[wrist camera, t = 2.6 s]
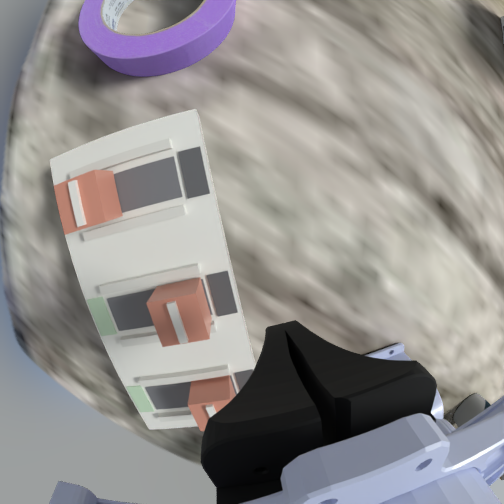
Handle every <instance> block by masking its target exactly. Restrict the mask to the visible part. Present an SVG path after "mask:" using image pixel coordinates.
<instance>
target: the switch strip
mask: <svg viewBox="0 0 504 504" xmlns="http://www.w3.org/2000/svg"><path fill="white" fill-rule="evenodd" d="M50 165H51V171H52V178H53V183H54V185H57V184H59V183H62V182H64V181H66V180H69V179H71V178H74V177H76V176H79V175H82V174H84V173H87V172H89V171H92V170H107V171H113V174H114V179H115V184H116V189H117V193H118V198H119V202H120V206H121V211H122V215H123V216H121V217H119V218H116V219H113V220H110V221H107V222H104V223H101V224H98V225H94V226H91V227H88V228H85V229H81V230H78V231H75V232H72V233H69V234H66V235H65V237H66V241H67V245H68V248H69V252H70V255H71V259H72V262H73V265H74V268H75V271H76V274H77V277H78V280H79V283H80V286H81V289H82V292H83V295H84V297H85V300H86V303H87V306H88V308H89V311H90V313H91V316H92V318H93V321H94V323H95V326H96V328H97V330H98V333H99V335H100V337H101V340H102V342H103V344H104V346H105V348H106V351H107V353H108V355H109V357H110V359H111V361H112V363H113V365H114V367H115V369H116V371H117V373H118V375H119V377H120V379H121V381H122V383H123V385H124V387H125V389H126V390H127V392H128V394H129V396H130V398H131V399H132V401H133V403H134V405H135V406H136V408H137V410H138V412H139V413H140V415H141V417H142V418H143V420H144V422H145V423H146V425H147V426H148V428H149V430H151V429H170V428H184V427H195V426H198V425H197V423H196V421H195V419H194V417H193V415H192V413H191V411H190V409H189V407H188V400H189V393H190V386H191V381H196V380H202V379H209V378H215V377H221V376H227V375H229V376H230V379H231V382H232V385H233V388H234V391H235V394H236V395H237V394H238V393H239V391H240V390H241V389H242V387H243V386H244V385H245V383H246V382H247V380H248V379H249V377H250V376H251V374H252V372H253V370H254V368H255V366H256V363H255V359H254V355H253V351H252V347H251V343H250V339H249V335H248V331H247V327H246V323H245V319H244V315H243V311H242V306H241V302H240V298H239V294H238V290H237V286H236V281H235V277H234V273H233V269H232V264H231V260H230V256H229V251H228V247H227V243H226V238H225V234H224V229H223V225H222V220H221V216H220V211H219V207H218V202H217V198H216V193H215V189H214V184H213V179H212V175H211V170H210V165H209V160H208V156H207V151H206V146H205V141H204V136H203V131H202V126H201V121H200V117H199V115H198V112H197V110H196V109H193V110H189V111H185V112H181V113H177V114H173V115H169V116H166V117H162V118H159V119H155V120H152V121H149V122H145V123H142V124H139V125H136V126H133V127H130V128H127V129H124V130H121V131H118V132H115V133H113V134H110V135H107V136H104V137H102V138H99V139H97V140H94V141H91V142H89V143H86V144H84V145H82V146H79V147H77V148H74V149H72V150H70V151H67V152H65V153H63V154H61V155H59V156H56V157H54V158H52V159H50ZM199 277H200V278H201V282H202V285H203V289H204V293H205V296H206V300H207V303H208V307H209V310H210V314H211V317H212V322H211V331H210V339H208V340H203V341H197V342H191V343H185V344H179V345H173V346H166V347H162V344H161V342H160V339H159V337H158V334H157V331H156V329H155V326H154V323H153V321H152V318H151V315H150V312H149V309H148V307H147V304H146V303H147V301H148V300H149V298H150V296H151V295H152V293H153V292H154V290H155V289H156V287H157V286H161V285H166V284H171V283H175V282H180V281H185V280H190V279H194V278H199Z"/></svg>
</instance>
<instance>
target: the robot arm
mask: <svg viewBox="0 0 504 504" xmlns="http://www.w3.org/2000/svg"><path fill="white" fill-rule="evenodd" d="M391 350H392V351H391ZM390 351H391V352H390ZM389 352H390V353H389ZM443 412H444V411H443V403H442V400H441V397H440V394H439V392H438V390H437V384H436V381H435V379H434V377H433V376H432V375H431V374H430V373H429V372H428V371H427V370H426V369H425V368H424V367H423V366H422V365H421V364H420V363H418V362H417V361H412V360H411V359H410V358H409V357H408V356H407V355H406V354H405V353H404V345H403V344H402V343H398V344H395V345H393V346H390V347H387V348H385V349H382V350H379V351H376V352H373V353H370V354H368V355H365V356H364V355H360V354H357V353H353V352H350V351H348V350H345V349H342V348H340V347H338V346H335V345H333V344H331V343H329V342H327V341H325V340H324V339H322V338H320V337H319V336H317V335H316V334H314V333H313V332H311V331H310V330H308V329H307V328H306V327H304V326H303V325H302V324H300V323H299V322H297V321H296V320H295V321H291V322H287V323H282V324H278V325H274V326H270V327H267V328H266V335H265V341H264V345H263V348H262V352H261V355H260V357H259V359H258V362H257V364H256V366H255V368H254V370H253V372H252V374H251V376H250V377H249V379H248V380H247V382H246V383H245V385H244V386H243V387H242V389H241V390H240V391H239V393H238V394H237V395H236V396H235V397H234V398H233V399H232V400H231V401H230V402H229V403H228V404H227V405H226V406H225V407H223V408H222V409H221V410H220V411H218V412H217V413H216V414H214V415H213V416H212V417H210V418H209V419H208V421H207V424H206V428H205V431H204V435H203V440H202V447H201V464H202V466H203V469H204V470H205V472H206V473H207V475H208V476H209V478H210V479H211V481H212V482H213V483H214V485H215V486H216V487H217V504H501V502H500V501H499V499H498V498H497V497H496V495H495V494H494V492H493V491H492V490H491V488H490V487H489V486H490V485H491V484H492V483H494V482H495V481H496V480H497V479H498V478H499V477H501V476H502V475H503V474H504V396H502V397H501V398H500V399H499V400H497V401H496V402H495V403H493V404H492V405H491V406H489V407H488V408H487V409H485V410H484V411H482V412H481V413H480V414H478V415H477V416H475V417H474V418H472V419H471V420H469V421H468V422H466V423H465V424H463V425H462V426H460V427H458V428H457V429H455V428H454V427H453V426H452V425H451V424H450V423H449V422H448V421H447V420H445V419H443ZM49 504H135V503H127V502H118V501H112V500H106V499H100V498H97V497H96V496H95V495H94V494H93V493H92V492H91V491H90V490H88V489H87V488H85V487H83V486H80V485H76V484H71V483H67V482H63V481H58V483H57V485H56V488H55V490H54V493H53V495H52V498H51V500H50V503H49Z"/></svg>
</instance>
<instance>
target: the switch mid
mask: <svg viewBox="0 0 504 504" xmlns="http://www.w3.org/2000/svg"><path fill="white" fill-rule="evenodd" d="M146 304H147V307H148V309H149V312H150V315H151V318H152V321H153V323H154V326H155V329H156V331H157V334H158V337H159V339H160V342H161V344H162V347H166V346H173V345H179V344H185V343H191V342H197V341H203V340H208V339H210V331H211V322H212V317H211V314H210V310H209V307H208V303H207V300H206V296H205V293H204V289H203V285H202V282H201V278H200V277H199V278H194V279H190V280H185V281H180V282H175V283H171V284H166V285H161V286H157V287H156V289H155V290H154V292H153V293H152V295H151V296H150V298H149V300H148V301H147V303H146Z"/></svg>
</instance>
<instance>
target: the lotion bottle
mask: <svg viewBox="0 0 504 504" xmlns="http://www.w3.org/2000/svg"><path fill="white" fill-rule="evenodd" d="M489 406H491V405H490V404H489V403H488V402H487V401H486V400H485V399H484V398H483V397H482V396H481V395H480V394H478V393H475V394H472V395H471V396H469V397H468V398H467V399H466V400H465V401H464V402H463V403H462V404H461V405H460V406H459V407H458V409H457V410H456V412H455V414H454V417H453V420H454V422H455V423H456V424H457V426H458V427H460V426H462V425H463V424H465V423H466V422H468V421H469V420H471V419H472V418H474V417H475V416H477V415H478V414H480V413H481V412H482V411H484V410H485V409H487V408H488V407H489ZM499 478H500V479H501V480H504V474H503V475H502V476H501V477H499Z"/></svg>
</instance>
